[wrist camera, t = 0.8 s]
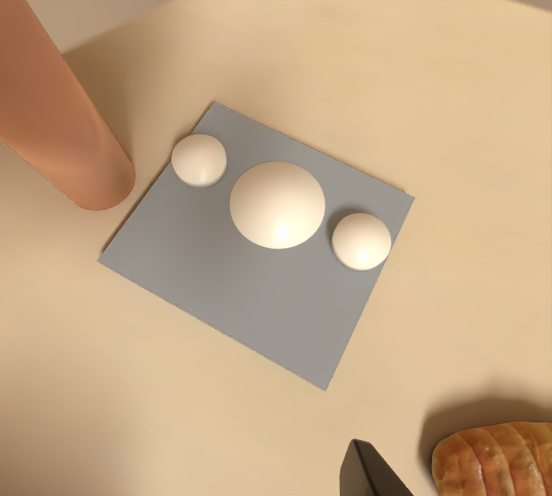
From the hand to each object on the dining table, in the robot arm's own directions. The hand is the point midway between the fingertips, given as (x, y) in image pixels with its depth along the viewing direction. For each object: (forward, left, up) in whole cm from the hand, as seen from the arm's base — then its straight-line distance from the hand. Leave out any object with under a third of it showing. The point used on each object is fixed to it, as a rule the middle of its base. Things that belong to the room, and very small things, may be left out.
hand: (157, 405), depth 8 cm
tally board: (+9, +3, -14) cm, 17 cm away
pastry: (+3, -18, -15) cm, 23 cm away
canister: (+7, +15, -14) cm, 22 cm away
